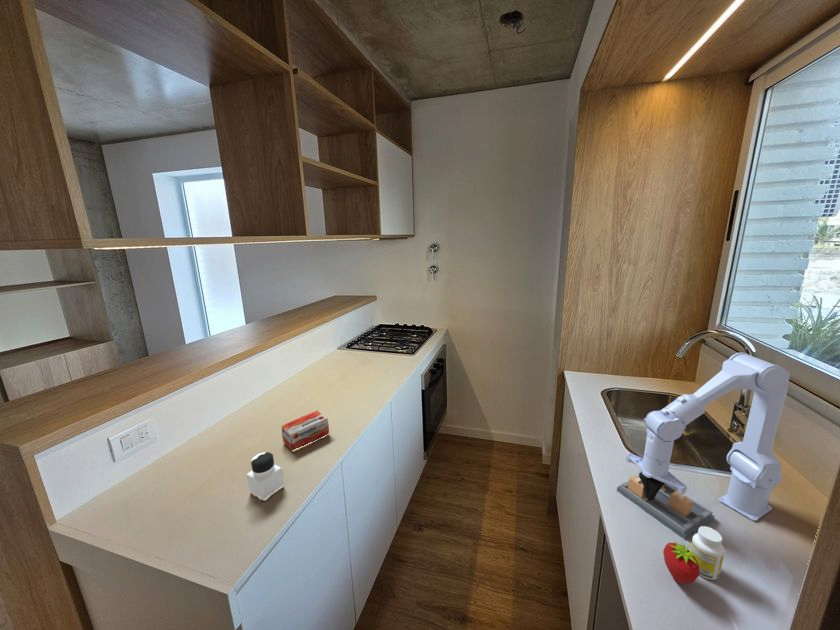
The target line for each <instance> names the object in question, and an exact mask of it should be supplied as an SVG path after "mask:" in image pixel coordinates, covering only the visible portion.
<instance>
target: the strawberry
mask: <svg viewBox="0 0 840 630" xmlns="http://www.w3.org/2000/svg"><path fill="white" fill-rule="evenodd" d="M689 547H691V544H690V545H689V544H688V546H686V543H684V544H683V545H682V544H681V543H678V542H677V541H676V540H674V542H667V543H666V544H665V546H664V548H663V550H662V552H663V553H662V554H663V558H664V563H665V566H666V568H667V569H668V572H669V573H670V575H671V576H672V578H673V580H674V581H675V582H676V583H679V584H680V583H681V584H690V583H694V582H695V581H696V580H697V579H698V578H699V577H700V575H699V573H700V572H699V564H698V562H697V560H696V558H695V557H699V556H697V555H695V554H694V553H692V552H690V550H689V549H688V548H689ZM694 556H695V557H694ZM699 558H701V557H699Z"/></svg>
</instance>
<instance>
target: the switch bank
mask: <svg viewBox="0 0 840 630" xmlns="http://www.w3.org/2000/svg"><path fill="white" fill-rule="evenodd" d="M636 476H637V477H639V475H636ZM639 478H640V477H639ZM628 483H629V480H628V481H625V482H623V483H621V484H619V486H617V488H616V492H618V493H620V495H623V496H624V497H625V498H627V500H629V501H630V502H632V503H633V504H634V505H636V506H638V507H639V508H640V509H642V510H643V511H645V513H647V514H648V515H650V516H652V517H653V518H654V519H655V520H657V521H658V522H659V523H661V524H663V525H664V526H665V527H667V528H668V529H669V530H671V531H672V532H674V533H675V534H677V535H678V536H680V537H681V538H682V539H683V540H686V539H688V538H690V536H691V537H692V536H693V535H695V534H696V533H698V530H699V528H700V527H701V526H706V527H707V526H708V525H709V524H710V523H712V522H713V521H714V520H715V515H713V511H712V510H710V509H708V508H706V506H703V504H700V503H698V502H697V501H696V500H694V499H692V498H690V497H689V496H687V495H686V497H687V498H688V499H690V500H692V501H693V504H692V509H691V514H690V515H688V516H686V517H685V516H683V515H682V514H680V513H679V512H677V511H676V510H674V509H673V508H671V507H670V506H668V505H669V500H670V494H672V493H674V492H675V491H677V490H676V489H674V488H672V487H671V486H669V485H667V484H665V486H664V487H663V488H661V489H660V490H659V491H658V493H657V494H656V496H655V498H654V499H653V500H651V501H650V500H648V499H647V498H646V497H645V498H643V499H641V498H640V497H638V496H637V495H635V494H634V493H633V492H631V491H630V490H628Z"/></svg>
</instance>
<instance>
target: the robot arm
mask: <svg viewBox="0 0 840 630" xmlns="http://www.w3.org/2000/svg"><path fill="white" fill-rule="evenodd" d="M790 378H791V373H790V372H789V371H788V370H786V369H785V368H784V367H783V366H780V365H777V364H775V363H774V364H773V363H772V362H768V361H766V360H763V359H760V358H758V357H755V356H754V355H753V356H752V355H750V354H748V353H746V352H737V353H734V354H733V355H731V356H730V357H729V358H728V359H726V360H724V361H723V363H722V369H721V370H720V371H719V372H718V373H716V375H714V376H713V377H711V378H710V380H708V381H707V382H706V383H704V384H703V385H702V386H701V387H699V388H698V389H697V390H696V391H694V393H693V394H689V393H688V394H687V393H686V394H685V393H683V394H682V395H680V396H678V397H677V398H676V399H674V400H673V401H672V402H670V403H669V404H667V405H666V406H665V407H663V408H662V409H660V410H652V411H649V412H648V413H647V414H646V417H645V418H643V424H644V426H645V427H646V431H645V432H646V439H645V447H644V452H643V453H644V454H643V457H640V456H639V455H635V454H633V453H632V452H630V453H628V454H626V457H625V461H626V462H628V463H632V464H634V465H635V466H636V467H637V468H639V469H640V471H641V472H639V473H638V476H639V477H640V479H641V481H642V483H643V486H644V490H645V496H646V498H647V499H648V500H650V501H651V500H653V499H654V498H655V496H656V494H657V493H658V491H659V490H660V489H661V487H662V486H663V485H665V484H667V485H669V486H671V487H672V488H674V489H676V490H677V492H678V493H679V494H681V495H682V494H684V495H685V493H686V492H687V489H688V486H687V485H686V484H685V483H683V482H682V481H681V480H680V479H678V478H677V477H676V476H675V475H673V474H672V473H671V472H670V463H671V459H672V458H671V457H672V453H673V452H672V451H673V447H674V442H675V440H677V439H680V438H681V437H682V434H683V432H684V430H686V428H687V425H689V424H690V423H691V422H693V421H694V420H696V419H698V417H700V416H702V415H703V414H705V412H706V410H705V409H706V406H707V405H708V404H710V403H711V402H714V401H715V400H717V399H719V398H720V397H722V396H724V395H727V393H729V392H731V391H733V390H734V389H740V390H742V389H743V390H750V391H754V393H753V398H752V402H751V405H750V409H749V414H748V419H747V423H746V426H745V427H746V428H745V430H744V431H745V432H744V435H743V440H742V441H737V442H734V443H733V444H732V447H731V449H730V450H729V451H728V453H727V455H726V462H727V464H729V467H730V468H729V469H730V471H731V475H730V481H729V482H728V488H727V492H726V494H724V495H723V496H720V497H719V498H718V501H719V502H720V503H722V504H724V505H725V506H727V507H729V508H731V509H732V510H734V511H736V512H738V513H739V514H741V515H742V516H744V517H746V518H747V519H750V520H751V521H753V522H757V521H759V520H760V519H761V518H762V517H763V516H765V515H766V514H767V513H769V512H770V511H772V509H773V507H772V506H771V505H769V504H768V503H769V500H770V498H771V493H772V490H773V489H774V488H776V487H778V486H779V485H780V484H781V483H782V479H783V474H782V470H781V469H782V464H781V462H780V461H779V459H778V457H777V456H776V455H775V454H774V452H773V447H774V445H775V440H776V436H777V432H778V428H779V424H780V420H781V418H782V413H783V410H784V406H785V401H786V397H787V394H788V391H789V390H788V389H789V388H788V387H789V381H790Z"/></svg>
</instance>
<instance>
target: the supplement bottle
mask: <svg viewBox="0 0 840 630" xmlns="http://www.w3.org/2000/svg"><path fill="white" fill-rule="evenodd" d="M722 543H723V536H722V535H721V534H720V532H718V531H717V530H715V529H714V528H712V527H710V526H707V525H706V526H701V527H700V528H699V530H698V531H697V532H696V533H694V534H693V535H692V540H691V544H690V550H689V551H690V552H692V553H694V554H695V555H697V556H699V557H701V558H699V557H695V556H694V557H695V558H696V560H697V562H698V564H699V572H700V573H699V577H702V578H704V579H707V580H712V581H715V580H717V579H719V577H720V575H721V569H722V566H723V560H724V556H725V548H724V547H723V545H722Z"/></svg>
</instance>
